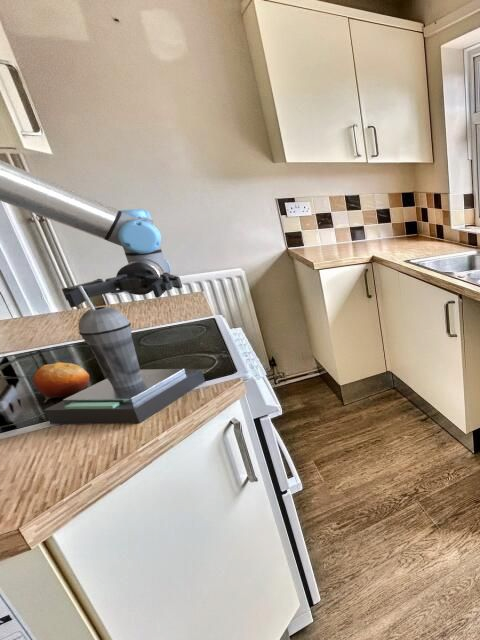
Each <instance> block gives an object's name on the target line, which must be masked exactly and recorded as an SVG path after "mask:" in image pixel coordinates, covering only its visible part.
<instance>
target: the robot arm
mask: <svg viewBox="0 0 480 640" xmlns="http://www.w3.org/2000/svg"><path fill="white" fill-rule="evenodd" d="M0 202H3V203H5V204H7V205H10V206H14V207H16V208H18V209H21V210H25V211H27V212H30V213H32V214H35V215H38V216H40V217H43V218H45V219H49V220H51V221H53V222H57V223H58V224H62V225H65V226H67V227H70V228H73V229H75V230H78V231H80V232H83V233H86V234H89V235H91V236H94V237H96V238H99V239H101V240H105V241H107V242H109V243H112V244H115V245H117V246H119V247H122V249H123V251H124V255H125V258H126V261H127V264H126V265H124V266H122V267H120V268H119V270H118V271H117V273H116V276H114V277H108V278H105V280H103V278H97V279H95V280H92V281H88V282H84V283H80V284H76V285H72V286H68V287H63V288H61V291H62V292H63V296H64V298H65V300H66V301H67V302H68V304H69V306H70V308H76V307H78V306H79V305H81V304H84V303H85V302H87V301H86V299H85V298H84V296H83V294H82V292H81V291H80V289H79V287H78V286H81V285H82V287H83V289H84V291H85V292H86V294H87V296H88V298H89V299H90V298H94V297H97V296H102V295H106V294H120V293H125V292H126V293H128V294H131V295H135V296H144V295H147V294H150V293H152V292H153V295H154V297H155V298H160V297H161V296H162V295H163V294H164V293H165V292H166V291H171V290H173V288H175V289H182V288H183V284H182V281H181V278H180V276H178V275H173V274H171V270H172V269H171V265H170V263H169V261H168V260H167V259H166V258H165V257H164V253H163V251H162V248H161V244H162V239H163V238H162V233H161V232H160V230H159V228H158V227H156V226H155V225H154V221H153V218H152V217H151V214H150V212H149V211H148V210H147V209H144V208H138V209H137V208H135V209H117V208H114V207H113V206H110V205H108V204H105V203H103V202H101V201H98V200H96V199H93V198H91V197H89V196H86V195H85V194H81V193H79V192H76V191H74V190H72V189H70V188H67V187H65V186H63V185H60V184H58V183H55V182H53V181H51V180H48V179H46V178H43V177H41V176H39V175H37V174H35V173H32V172H30V171H27V170H25V169H22V168H20V167H18V166H15V165H13V164H10V163H8V162H6V161H3V160H2V159H0Z"/></svg>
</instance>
